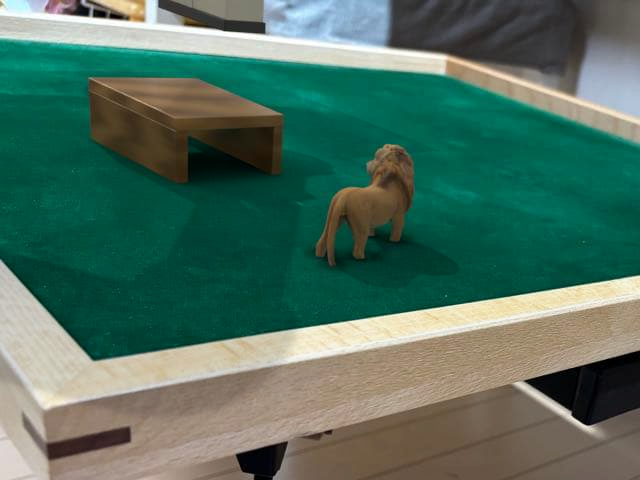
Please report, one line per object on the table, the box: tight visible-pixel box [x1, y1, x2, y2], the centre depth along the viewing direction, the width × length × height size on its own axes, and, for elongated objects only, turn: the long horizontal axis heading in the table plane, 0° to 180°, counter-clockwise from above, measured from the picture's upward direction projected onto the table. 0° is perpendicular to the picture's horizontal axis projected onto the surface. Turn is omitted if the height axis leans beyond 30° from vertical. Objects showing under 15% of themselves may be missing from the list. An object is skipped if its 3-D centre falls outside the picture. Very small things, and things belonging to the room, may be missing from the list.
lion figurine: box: [315, 143, 415, 267], centre depth 76 cm, size 15×5×9 cm, turn 169°
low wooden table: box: [87, 77, 285, 184], centre depth 89 cm, size 15×12×7 cm
